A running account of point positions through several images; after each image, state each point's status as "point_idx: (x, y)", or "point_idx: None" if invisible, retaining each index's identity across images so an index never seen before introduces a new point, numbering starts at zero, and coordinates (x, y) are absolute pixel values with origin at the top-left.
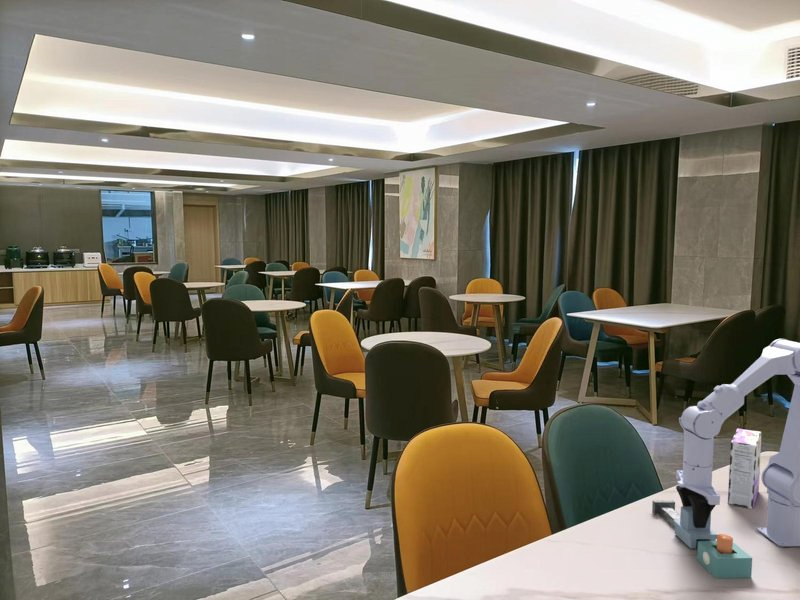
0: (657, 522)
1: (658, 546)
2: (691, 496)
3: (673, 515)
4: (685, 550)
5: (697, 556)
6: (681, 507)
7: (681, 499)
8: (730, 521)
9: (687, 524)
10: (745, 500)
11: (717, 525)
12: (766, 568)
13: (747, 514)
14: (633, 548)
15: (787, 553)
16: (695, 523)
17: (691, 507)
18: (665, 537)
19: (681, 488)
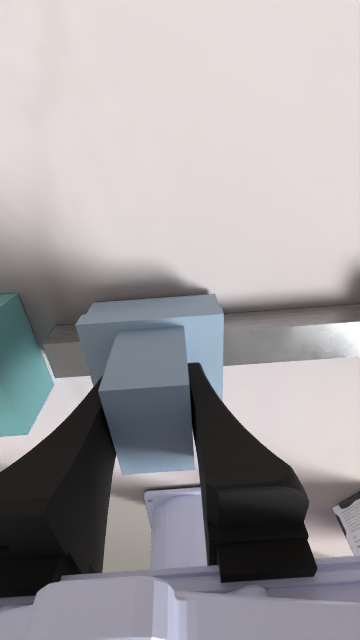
0: (322, 267)
1: (102, 179)
2: (15, 527)
3: (312, 337)
4: (86, 281)
5: (9, 298)
6: (180, 383)
7: (228, 422)
8: (282, 457)
9: (116, 347)
10: (354, 522)
11: (265, 427)
12: (27, 437)
13: (310, 494)
14: (51, 3)
15: (118, 490)
16: (98, 380)
17: (179, 426)
18: (190, 247)
19: (237, 507)
